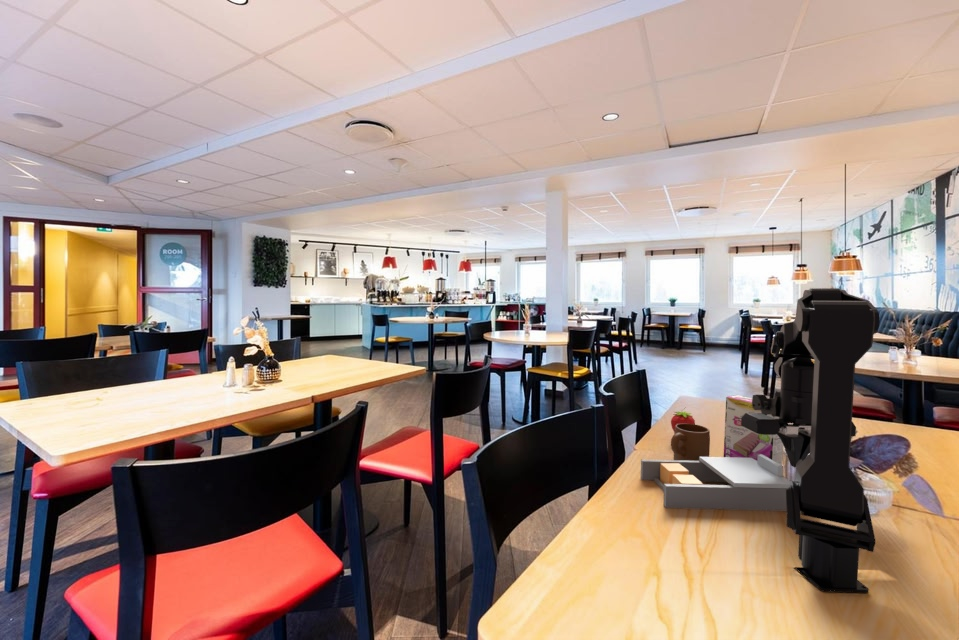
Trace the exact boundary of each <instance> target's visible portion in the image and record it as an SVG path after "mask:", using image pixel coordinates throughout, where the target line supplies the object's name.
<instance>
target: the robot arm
mask: <svg viewBox="0 0 959 640" xmlns="http://www.w3.org/2000/svg"><path fill="white" fill-rule="evenodd" d="M796 302H797V303H796V311H795V319H794V320H793V321H789V322H785V323H784V324H783V325H782V326H781V327H780V330H777V331H776V332H775V335H774V336H773V338H772V343H771V347H770V353H771V354H772V355H773V356H772V357H774V358H778V359H777V360H776V362H775V363H774V372H775V374H776V375H777V376H778V377H779V378H780V390H775V393H774V398H773V397H772V398H768V397H767V396H766V394H754V395H752V397H751V398H752V406H753V409H754V410H761V413H745V414H744V415H743V416H742V418H741V426H743V427H745V428H747V429H749V430H751V431H753V432H755V433H757V434H762V435H776V434H777V435H778V436H779V438H780V439H781V441H782V443H783V445H784V447H783V449H784V450H785V453H786V456H787V458H788V461H789V464H790V466H791V467H793V468H795V472H794V473H795V474H794V480H790V481H791V482H790V485H789V488H788V489H786V508H787V511H786V523H785V524H786V527H787V528H789V529H790V530H792V531H793V533H794V535H798V536H799V538H798V551H797V552H798V554H797V555H798V557H799V560H800V561H801V566H802V567H799V566H798V567H797V566H794V569H795V570H797V571H798V572H799V573H800V574H802V575H803V576H804V577H805V578H806V579H807V580H808V581H809V582H810V583H811V584H813V585H814V586H815V587H816V588H818V590H820V591H821V592H830V593H831V592H832V593H833V592H835V593H836V592H837V593H839V592H840V593H862V594H865V593H869V591H870V590H869V588H868V587H867V586H866V585H865V584H864V583H862V581H860V580H858V575H859V559H860V550H865V551H867V552H870V553H874V551H875V545H876V537H875V533H874V528H873V527H874V526H873V522H872V518H871V511H870V508H869V503H868V499H867V496H866V495H865V489H864V487H863V485H862V484H861V482H860V481H859V479H858V478H857V476H856V475H855V473H854V472H853V470H852V468H851V466H850V460H851V459H850V458H851V444H852V437H857V426H856V425H855V423H854V422H853V407H854V391H855V389H854V388H855V373H856V364H857V363H858V362H859V361H860V360H861V359H862V358H863V357H864V355H866V354H867V352H869V350H870V349H871V348H872V347H873V342H874V335H876V334H877V333H878V332H879V327H880V320H881V319H880V318H881V317H880V312H879V310H878V308H876V307H875V305H874V304H873V303H872V302H871V301H870V300H868V299H865V298H862V297H859V296H856V295H852V294H850V293H848V292H847V290H846V289H841V288H837V287H832V288H831V287H830V288H826V287H825V288H823V287H822V288H819V287H818V288H816V287H815V288H814V287H813V288H811V287H810V288H809V289H805V290H804V291H803V293H802V296H801V297H800V298H798V299H797V301H796ZM768 414H771V415H773V416H775V417H779V419H774V418H772V417H770V416H767V415H768ZM801 516H804V517H809V518H813V519H818V520H823V521H828V522H833V523H837V524H842V525H847V526H850V527H851V526H852V527H856V529H854V528H853V529H852V528H848V527H844V526H838V525H834V524H829V523H826V522H825V523H824V522H822V521H821V522H820V521H817V520H816V521H815V520H811V519H807V518H803V517H801Z"/></svg>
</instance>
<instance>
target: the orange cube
mask: <svg viewBox="0 0 959 640" xmlns="http://www.w3.org/2000/svg"><path fill="white" fill-rule="evenodd" d="M673 474H675V475H689V471H688V470H687V469H686V468H684V467H683V466H682V465H680V464H679V463H660V481H661V482H662V483H663V484H672V475H673Z"/></svg>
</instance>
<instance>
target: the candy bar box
mask: <svg viewBox="0 0 959 640" xmlns="http://www.w3.org/2000/svg"><path fill="white" fill-rule="evenodd" d="M752 398H753V397H748V396H744V395H739V394H736V395H727V396H726V397H725V415H724V416H725V417H724V439H723V457H741V458H753V459H755V460H756V461H757V459H758V455H764V456H766V457H768V458H769V459H771V460H773V461H775V462H777V463H778V464H780V465H782V461H784V445H783V443H782V441H781V439H780V438H779V436H778V435H777V434H776V435H762V434H757V433H755V432H753V431H751V430H749V429H747V428H745V427H743V426H741V418H742V416H743V415H744V414H745V413H761V410H754V409H753V406H752ZM767 416H770V417H772V418H774V419H779V417H775V416H773V415H771V414H768V415H767Z"/></svg>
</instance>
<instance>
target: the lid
mask: <svg viewBox="0 0 959 640" xmlns="http://www.w3.org/2000/svg"><path fill="white" fill-rule="evenodd" d="M699 461H701V462H702V463H703V464H705V465H706V466H707V467H709V468H710V469H711V470H713V471H714V472H715V473H716V474H718V475H719V476H720V477H722V478H723V479H724V480H726V481H727V482H726V483H728V485H732V486H733V487H745V488H789V485H790V482H791V481H792V480H789V479H788V478H786V477H785V476H784V465H783V466H782V465H780V464H778V463H777V462H775V461H773V460H771V459H769V458H768V457H766V456H764V455H758V459H757V461H756V460H755V459H753V458H741V457H724V456H709V457H699Z"/></svg>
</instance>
